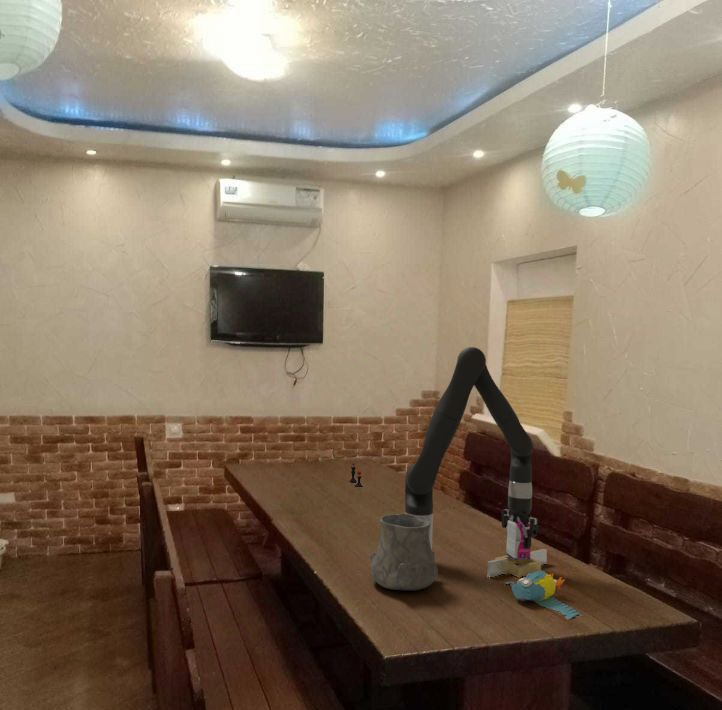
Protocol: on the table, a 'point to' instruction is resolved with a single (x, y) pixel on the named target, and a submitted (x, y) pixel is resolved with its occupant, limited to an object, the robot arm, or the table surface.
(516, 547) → the supplement box
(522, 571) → the square frame with handle
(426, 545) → the vessel
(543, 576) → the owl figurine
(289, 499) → the table surface
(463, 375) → the robot arm
